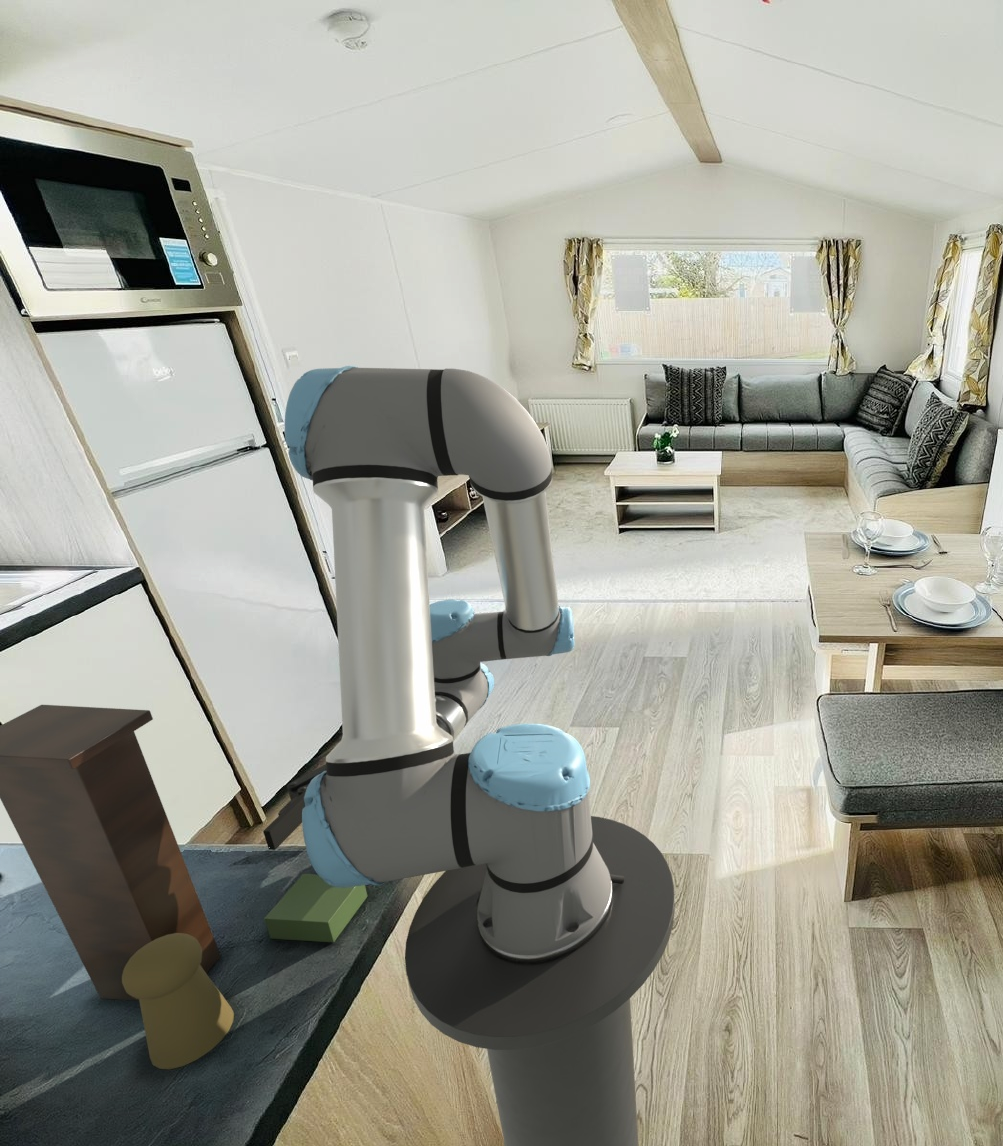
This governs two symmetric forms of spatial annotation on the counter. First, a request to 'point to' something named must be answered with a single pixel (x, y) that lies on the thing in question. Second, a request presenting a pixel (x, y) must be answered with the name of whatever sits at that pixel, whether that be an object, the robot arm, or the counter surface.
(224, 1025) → the cork
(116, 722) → the shelf stand
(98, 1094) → the counter surface
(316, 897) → the paddle
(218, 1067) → the counter surface
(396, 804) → the robot arm
